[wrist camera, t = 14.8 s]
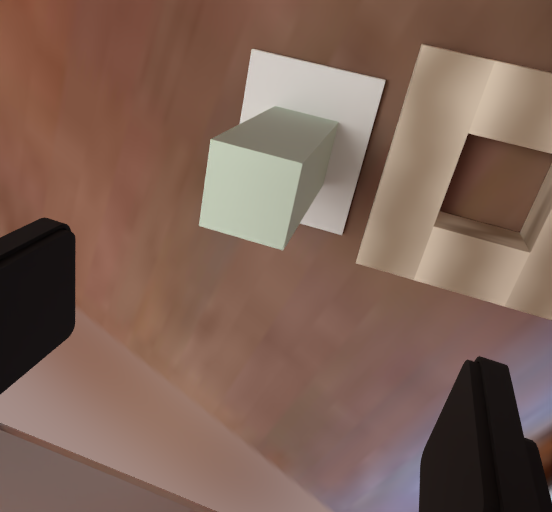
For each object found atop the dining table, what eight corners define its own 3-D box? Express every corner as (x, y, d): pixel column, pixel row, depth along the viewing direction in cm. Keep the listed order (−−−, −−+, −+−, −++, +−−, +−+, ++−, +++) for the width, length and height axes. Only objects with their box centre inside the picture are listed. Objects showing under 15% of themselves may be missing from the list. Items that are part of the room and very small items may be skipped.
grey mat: (385, 79, 32) (385, 80, 31) (342, 232, 37) (341, 235, 36) (254, 48, 33) (251, 48, 33) (229, 200, 38) (226, 202, 38)
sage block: (338, 121, 33) (302, 163, 23) (323, 185, 35) (283, 250, 25) (274, 106, 34) (210, 139, 23) (263, 168, 36) (198, 225, 25)
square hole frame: (661, 97, 29) (691, 104, 26) (554, 299, 35) (567, 325, 32) (421, 43, 31) (422, 44, 28) (360, 243, 37) (355, 263, 34)
